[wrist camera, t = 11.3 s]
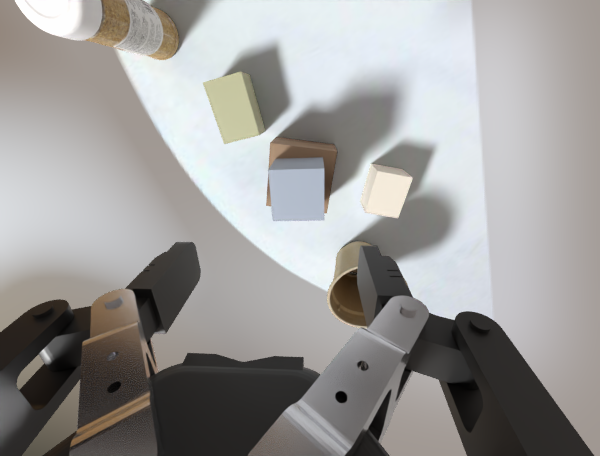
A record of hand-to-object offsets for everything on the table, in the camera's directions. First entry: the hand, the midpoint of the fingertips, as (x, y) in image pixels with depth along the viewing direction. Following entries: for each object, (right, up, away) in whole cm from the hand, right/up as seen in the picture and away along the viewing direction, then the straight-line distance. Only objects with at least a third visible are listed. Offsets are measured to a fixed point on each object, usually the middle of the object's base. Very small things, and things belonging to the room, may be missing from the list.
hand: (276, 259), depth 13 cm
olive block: (-6, +15, +18) cm, 24 cm away
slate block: (+1, +7, +16) cm, 18 cm away
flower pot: (+10, -3, +26) cm, 28 cm away
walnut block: (+1, +9, +21) cm, 23 cm away
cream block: (+11, +7, +21) cm, 25 cm away
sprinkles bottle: (-14, +22, +15) cm, 30 cm away
